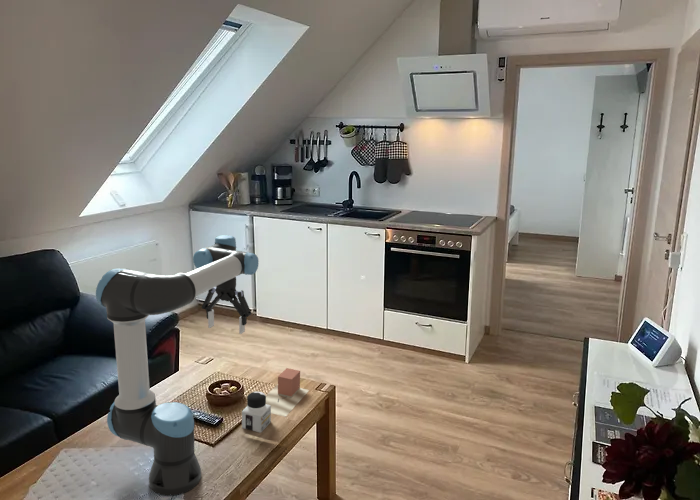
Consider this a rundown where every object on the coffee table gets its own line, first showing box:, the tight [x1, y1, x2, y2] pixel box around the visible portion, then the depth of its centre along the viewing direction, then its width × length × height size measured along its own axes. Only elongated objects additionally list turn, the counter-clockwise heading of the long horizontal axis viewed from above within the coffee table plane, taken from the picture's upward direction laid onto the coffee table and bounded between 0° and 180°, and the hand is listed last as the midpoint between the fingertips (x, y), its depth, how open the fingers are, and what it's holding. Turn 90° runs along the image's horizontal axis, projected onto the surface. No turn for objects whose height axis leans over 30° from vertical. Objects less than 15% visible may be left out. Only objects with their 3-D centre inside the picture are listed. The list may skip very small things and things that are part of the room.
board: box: [265, 383, 310, 418], centre depth 211 cm, size 22×14×1 cm, turn 161°
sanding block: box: [277, 367, 301, 398], centre depth 216 cm, size 8×6×8 cm
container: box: [241, 391, 272, 433], centre depth 192 cm, size 8×8×13 cm
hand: (226, 329), depth 205 cm, fingers open, 13 cm apart
